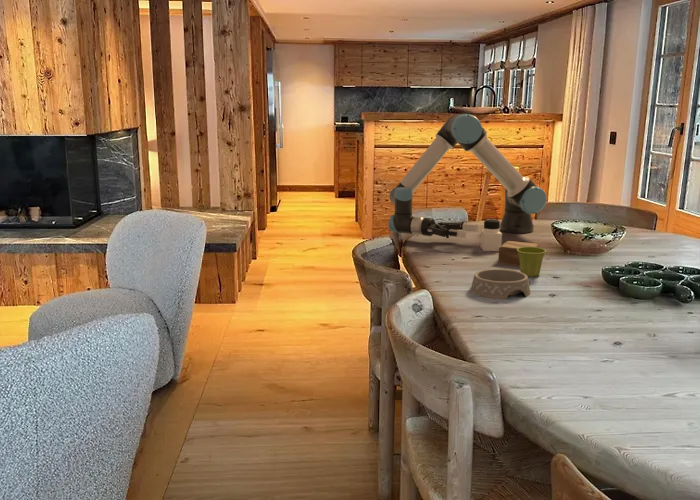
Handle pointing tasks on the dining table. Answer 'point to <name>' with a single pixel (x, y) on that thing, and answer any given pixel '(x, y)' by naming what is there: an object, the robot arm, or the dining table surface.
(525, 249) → the plant pot
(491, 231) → the medicine bottle
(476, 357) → the dining table surface
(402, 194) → the robot arm
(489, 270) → the dog bowl
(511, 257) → the walnut box
